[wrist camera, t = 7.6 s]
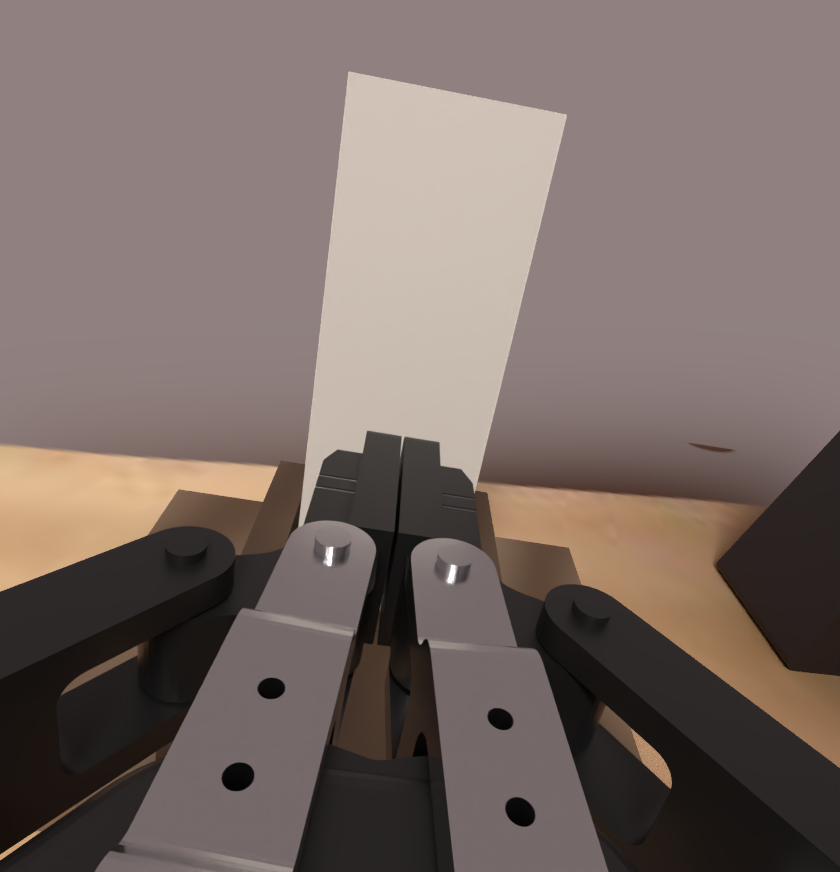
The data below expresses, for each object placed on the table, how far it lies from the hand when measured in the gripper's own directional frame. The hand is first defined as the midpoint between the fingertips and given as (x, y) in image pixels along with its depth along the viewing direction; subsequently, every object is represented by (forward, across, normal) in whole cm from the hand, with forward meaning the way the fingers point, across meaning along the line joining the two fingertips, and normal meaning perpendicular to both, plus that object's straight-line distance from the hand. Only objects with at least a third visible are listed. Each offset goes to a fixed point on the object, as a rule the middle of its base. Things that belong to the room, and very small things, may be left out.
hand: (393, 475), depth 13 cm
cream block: (+7, 0, +8) cm, 11 cm away
